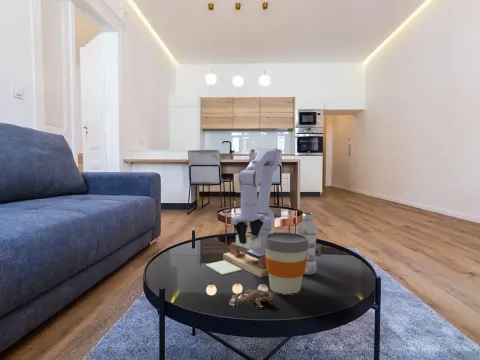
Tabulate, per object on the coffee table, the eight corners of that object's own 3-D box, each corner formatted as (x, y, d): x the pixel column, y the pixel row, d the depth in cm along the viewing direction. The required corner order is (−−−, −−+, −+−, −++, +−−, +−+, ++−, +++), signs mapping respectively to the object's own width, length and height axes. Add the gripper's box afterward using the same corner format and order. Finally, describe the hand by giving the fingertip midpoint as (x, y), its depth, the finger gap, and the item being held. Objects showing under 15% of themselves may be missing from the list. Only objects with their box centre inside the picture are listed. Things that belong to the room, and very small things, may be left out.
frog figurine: (280, 297, 79) (281, 283, 79) (266, 318, 68) (267, 302, 68) (242, 289, 84) (242, 276, 84) (223, 308, 73) (223, 293, 73)
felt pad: (224, 261, 107) (224, 260, 107) (242, 270, 98) (242, 269, 98) (205, 265, 103) (205, 264, 103) (222, 275, 94) (222, 274, 94)
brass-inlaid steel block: (246, 242, 107) (246, 231, 107) (261, 247, 101) (261, 235, 101) (235, 244, 104) (235, 232, 104) (250, 249, 98) (250, 237, 98)
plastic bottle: (317, 271, 98) (318, 212, 97) (315, 278, 92) (317, 216, 91) (298, 268, 100) (299, 211, 99) (295, 275, 94) (296, 214, 93)
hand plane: (237, 255, 114) (238, 240, 114) (276, 272, 96) (276, 255, 96) (222, 259, 110) (223, 243, 110) (260, 277, 92) (260, 259, 92)
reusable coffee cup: (303, 300, 77) (305, 245, 76) (258, 292, 81) (259, 240, 80) (309, 282, 88) (310, 234, 88) (269, 277, 93) (270, 230, 92)
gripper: (256, 201, 110) (255, 236, 110) (225, 204, 100) (225, 242, 101) (269, 203, 104) (268, 240, 105) (238, 206, 95) (238, 247, 96)
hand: (248, 242), depth 103 cm, fingers closed on brass-inlaid steel block, 5 cm apart
